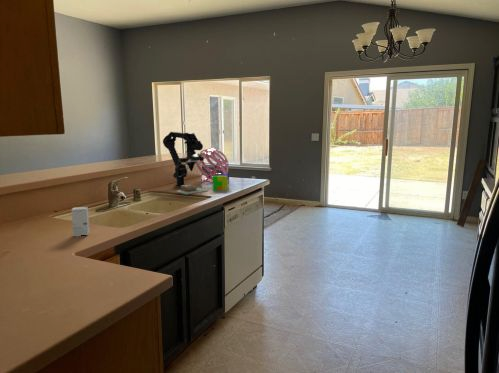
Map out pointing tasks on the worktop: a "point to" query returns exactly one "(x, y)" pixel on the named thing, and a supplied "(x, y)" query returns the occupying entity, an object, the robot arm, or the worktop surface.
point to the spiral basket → (216, 167)
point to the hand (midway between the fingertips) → (191, 171)
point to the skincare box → (80, 221)
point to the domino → (188, 188)
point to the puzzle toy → (221, 182)
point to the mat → (192, 191)
